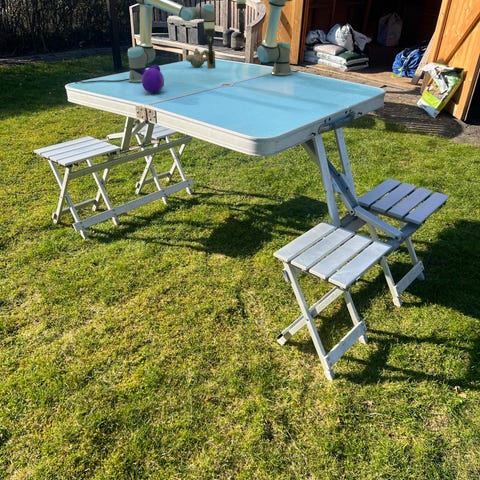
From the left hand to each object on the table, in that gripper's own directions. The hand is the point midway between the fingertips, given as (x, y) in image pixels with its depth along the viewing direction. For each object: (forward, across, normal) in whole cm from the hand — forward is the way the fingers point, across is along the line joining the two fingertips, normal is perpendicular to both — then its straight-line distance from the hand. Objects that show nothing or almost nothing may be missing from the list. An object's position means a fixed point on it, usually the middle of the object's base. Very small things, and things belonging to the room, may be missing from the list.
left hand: (211, 63), depth 331 cm
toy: (+12, +29, -43) cm, 54 cm away
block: (+3, 0, 0) cm, 3 cm away
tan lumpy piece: (+12, -61, -9) cm, 62 cm away
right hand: (-16, -40, +27) cm, 51 cm away
